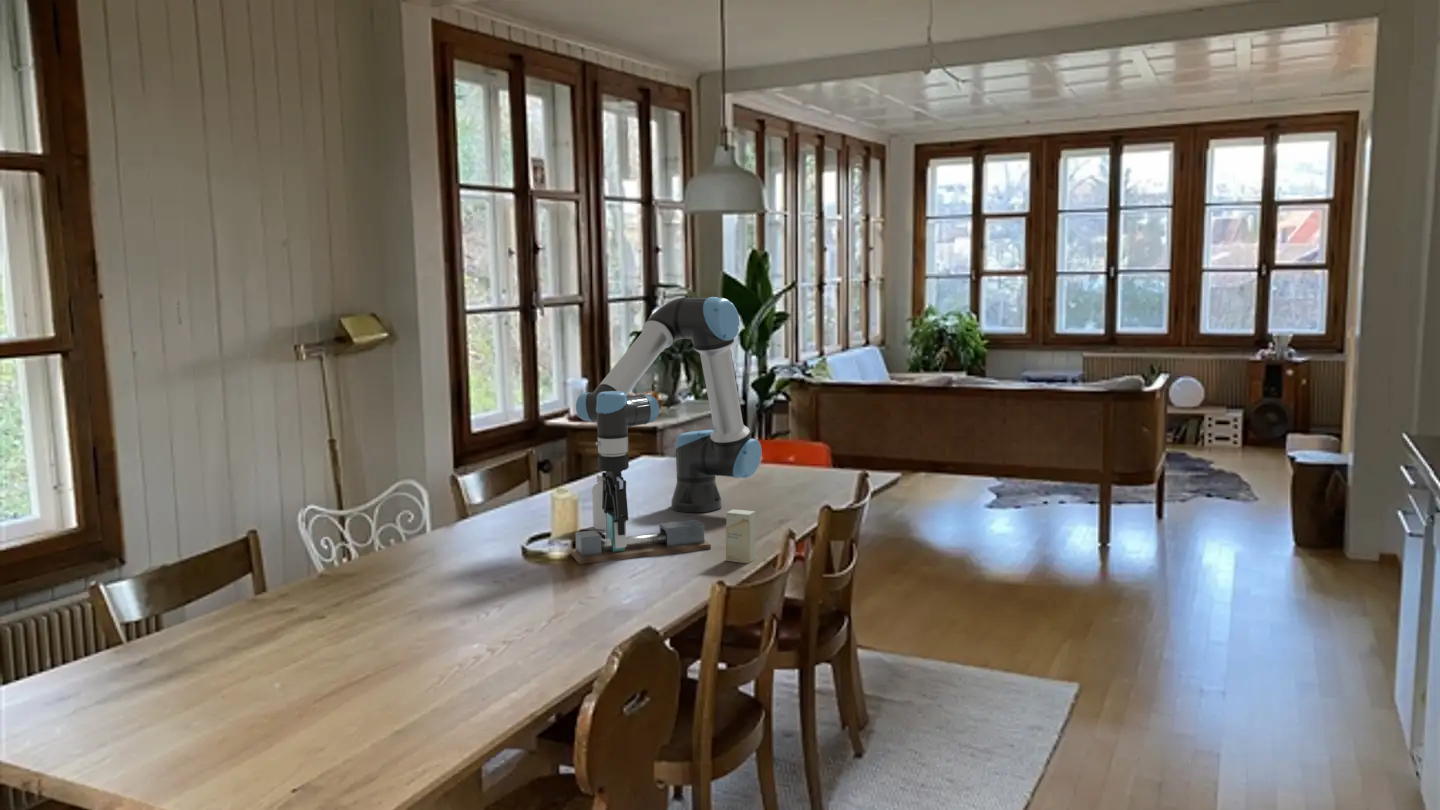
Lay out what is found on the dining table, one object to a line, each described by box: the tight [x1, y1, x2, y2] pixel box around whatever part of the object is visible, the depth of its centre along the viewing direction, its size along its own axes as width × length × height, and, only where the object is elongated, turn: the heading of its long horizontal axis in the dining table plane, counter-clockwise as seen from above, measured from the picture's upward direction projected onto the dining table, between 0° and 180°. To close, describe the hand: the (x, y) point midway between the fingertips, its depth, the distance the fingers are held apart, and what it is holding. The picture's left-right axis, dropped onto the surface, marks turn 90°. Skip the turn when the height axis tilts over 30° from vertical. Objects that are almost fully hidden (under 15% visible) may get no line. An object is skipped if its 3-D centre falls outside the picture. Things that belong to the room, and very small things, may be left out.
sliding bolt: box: [601, 512, 666, 552], centre depth 261 cm, size 23×5×9 cm, turn 111°
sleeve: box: [659, 519, 705, 547], centre depth 267 cm, size 10×6×5 cm, turn 111°
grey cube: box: [575, 529, 602, 557], centre depth 258 cm, size 5×6×5 cm
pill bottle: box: [591, 472, 606, 531], centre depth 289 cm, size 8×8×15 cm
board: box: [570, 539, 712, 565], centre depth 263 cm, size 34×10×1 cm, turn 111°
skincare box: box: [725, 508, 756, 564], centre depth 253 cm, size 6×4×12 cm
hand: (615, 543), depth 261 cm, fingers open, 8 cm apart
